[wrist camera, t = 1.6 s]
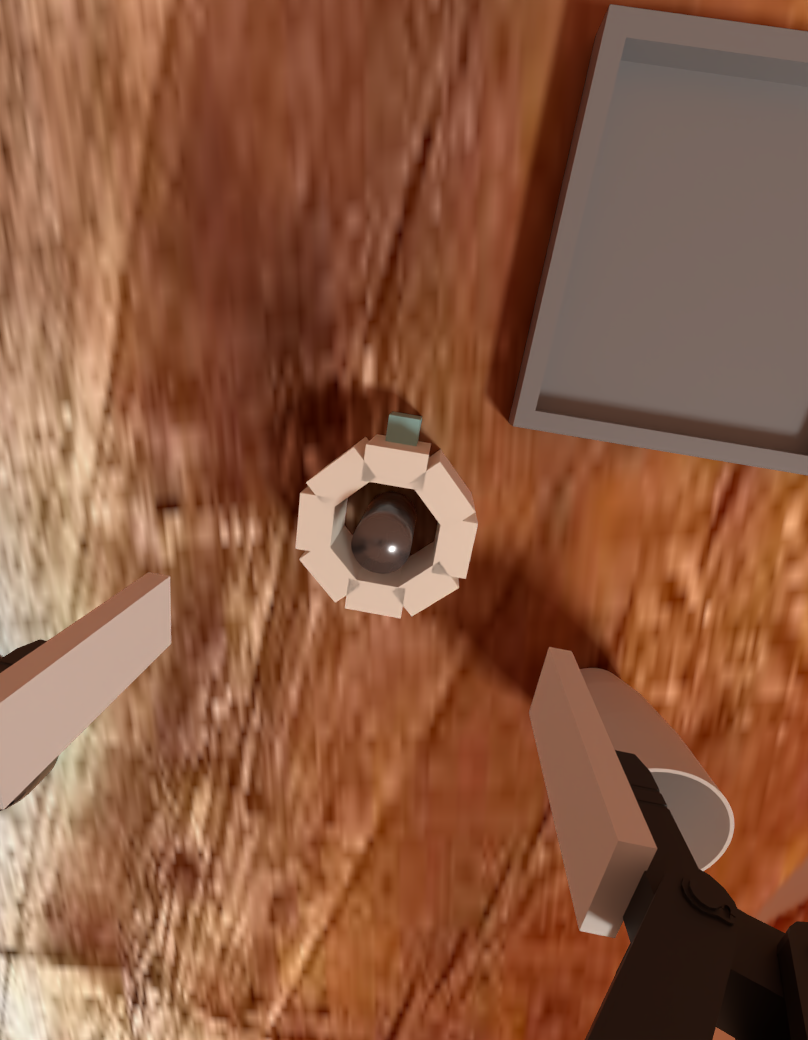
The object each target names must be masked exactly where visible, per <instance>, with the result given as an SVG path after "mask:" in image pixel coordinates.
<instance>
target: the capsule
mask: <svg viewBox="0 0 808 1040" xmlns="http://www.w3.org/2000/svg"><path fill="white" fill-rule="evenodd" d="M416 517H417V513H416V509H415V506H414V504H413V502H412V501H411V500H410V499H409V498H408V497H407V496H405V495H404V494H402V493H399V492H395V491H388V492H383V493H381V494H379V495H377V496H376V497H375V498H374V499H373V500H372V501H371V503H370V505H369V506H368V508H367V510H366V512H365V514H364V516H363V517H362V519H361V521H360V523H359V525H358V526H357V528H356V530H355V532H354V534H353V536H352V541H351V548H352V552H353V555H354V557H355V559H356V560H357V562H358V563H359V564H360V565H361V566H362V567H364V568H365V569H367V570H369V571H371V572H374V573H380V574H385V573H390V572H393V571H396V570H398V569H399V568H401V567H402V566H403V565H404V564H405V562H406V561H407V559H408V557H409V555H410V550H411V545H412V540H413V534H414V529H415V524H416Z"/></svg>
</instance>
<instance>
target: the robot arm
mask: <svg viewBox="0 0 808 1040" xmlns="http://www.w3.org/2000/svg"><path fill="white" fill-rule="evenodd" d="M170 644H171V603H170V576H166V575H161V574H156V573H150V572H148V573H147V574H145V575H144V576H142V577H141V578H140V579H138V580H137V581H135V582H134V583H132V584H131V585H129V586H128V587H126V588H125V589H123V590H122V591H120V592H119V593H117V594H116V595H114V596H113V597H112V598H110V599H109V600H107V601H106V602H104V603H103V604H101V605H100V606H98V607H97V608H95V609H94V610H92V611H91V612H89V613H88V614H87V615H85V616H84V617H82V618H81V619H79V620H78V621H76V622H75V623H73V624H72V625H70V626H69V627H67V628H66V629H64V630H63V631H62V632H60V633H59V634H57V635H56V636H54V637H53V638H51V639H50V640H48V641H44V640H37V641H35V642H32V643H30V644H27V645H25V646H22V647H20V648H17V649H15V650H14V651H12V652H11V653H9V654H8V655H6V656H5V657H3V658H2V659H0V811H1V810H4V809H6V808H8V807H10V806H12V805H14V804H15V803H17V802H18V801H20V800H21V799H23V798H24V797H25V796H26V795H28V794H29V793H30V792H31V791H32V790H33V789H34V788H35V787H36V786H37V785H38V784H39V783H40V782H41V781H42V780H43V779H44V777H45V776H46V775H47V774H48V773H49V772H50V771H51V770H52V769H53V767H54V765H55V763H56V761H57V759H58V755H59V754H60V753H61V752H62V751H63V750H64V749H65V748H66V747H67V746H68V745H69V744H70V743H71V742H72V741H73V740H74V739H75V738H76V737H78V736H79V735H80V734H81V733H82V732H83V731H84V730H85V729H86V728H87V727H88V726H89V725H90V724H91V723H92V722H93V721H94V720H95V719H96V718H97V717H98V716H99V715H100V714H101V713H102V712H103V711H104V710H105V709H106V708H107V707H108V706H109V705H110V704H111V703H112V702H113V701H114V700H115V699H116V698H117V697H118V696H119V695H120V694H121V693H122V692H123V691H124V690H125V689H126V688H127V687H128V686H129V685H130V684H131V683H132V682H133V681H134V680H135V679H136V678H137V677H138V676H139V675H140V674H141V673H142V672H143V671H144V670H145V669H146V668H147V667H148V666H149V665H150V664H151V663H152V662H153V661H154V660H155V659H156V658H157V657H158V656H159V655H160V654H161V653H162V652H163V651H164V650H165V649H166V648H167V647H168V646H169V645H170ZM529 715H530V719H531V724H532V728H533V732H534V737H535V741H536V745H537V750H538V754H539V758H540V762H541V767H542V771H543V775H544V780H545V784H546V788H547V793H548V797H549V801H550V806H551V810H552V814H553V819H554V823H555V827H556V832H557V836H558V840H559V844H560V849H561V853H562V857H563V862H564V866H565V870H566V875H567V879H568V883H569V888H570V892H571V896H572V901H573V905H574V909H575V914H576V918H577V922H578V926H579V931H584V932H588V933H593V934H598V935H603V936H607V937H612V938H615V937H616V935H617V933H618V930H619V928H620V926H621V924H622V922H623V920H624V923H625V926H626V929H627V932H628V936H629V939H630V942H631V943H630V945H629V947H628V949H627V951H626V953H625V955H624V957H623V959H622V961H621V963H620V966H619V968H618V970H617V972H616V975H615V977H614V979H613V981H612V983H611V985H610V988H609V990H608V992H607V994H606V996H605V998H604V1000H603V1002H602V1004H601V1007H600V1009H599V1011H598V1013H597V1015H596V1017H595V1019H594V1021H593V1024H592V1026H591V1028H590V1030H589V1032H588V1034H587V1036H586V1038H585V1040H712V1039H713V1035H714V1031H715V1027H717V1028H719V1029H721V1030H722V1031H724V1032H726V1033H727V1034H729V1035H731V1036H732V1037H734V1038H735V1040H808V922H795V923H794V924H793V925H791V926H790V927H789V929H788V930H787V932H786V933H783V932H781V931H779V930H777V929H775V928H773V927H771V926H769V925H767V924H765V923H763V922H761V921H759V920H757V919H755V918H753V917H751V916H749V915H747V914H746V913H744V912H742V911H741V910H739V909H737V907H736V904H735V902H734V901H733V899H732V898H731V897H730V895H729V894H728V893H727V891H726V890H725V889H724V888H723V887H722V886H721V885H720V884H719V883H718V882H717V881H716V880H715V879H713V878H712V877H711V876H710V875H708V874H707V873H705V872H703V871H702V870H700V869H699V868H698V866H697V864H696V862H695V860H694V858H693V856H692V854H691V852H690V850H689V848H688V846H687V844H686V842H685V840H684V838H683V836H682V834H681V832H680V830H679V828H678V826H677V824H676V822H675V820H674V818H673V816H672V814H671V812H670V810H669V809H667V804H666V802H665V800H664V798H663V796H662V794H661V793H660V792H659V791H660V790H659V788H658V786H657V784H656V782H655V780H654V778H653V776H652V774H651V772H650V770H649V769H648V768H647V767H646V766H645V765H644V764H643V763H642V762H641V760H640V759H639V758H638V757H637V756H636V755H635V754H632V753H627V752H622V751H617V750H614V747H613V745H612V743H611V740H610V738H609V736H608V733H607V731H606V729H605V727H604V724H603V722H602V720H601V717H600V715H599V713H598V710H597V708H596V706H595V703H594V701H593V699H592V697H591V694H590V692H589V690H588V687H587V685H586V683H585V680H584V678H583V676H582V674H581V671H580V669H579V667H578V664H577V662H576V660H575V657H574V655H573V653H572V651H569V650H563V649H558V648H553V647H549V648H548V651H547V655H546V658H545V661H544V665H543V668H542V671H541V675H540V678H539V681H538V684H537V688H536V691H535V694H534V698H533V701H532V704H531V707H530V711H529Z"/></svg>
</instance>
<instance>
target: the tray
mask: <svg viewBox="0 0 808 1040" xmlns="http://www.w3.org/2000/svg"><path fill="white" fill-rule="evenodd" d="M508 422H509V423H510V424H511V425H512V426H515V427H521V428H527V429H533V430H539V431H545V432H551V433H557V434H563V435H569V436H575V437H581V438H587V439H593V440H599V441H605V442H611V443H617V444H623V445H629V446H635V447H641V448H647V449H653V450H659V451H665V452H671V453H677V454H683V455H689V456H695V457H701V458H707V459H713V460H719V461H725V462H731V463H737V464H743V465H749V466H755V467H761V468H767V469H773V470H779V471H785V472H791V473H797V474H803V475H808V31H800V30H793V29H786V28H779V27H771V26H764V25H757V24H750V23H742V22H735V21H728V20H721V19H713V18H706V17H699V16H692V15H684V14H677V13H670V12H663V11H655V10H648V9H641V8H634V7H626V6H619V5H612V4H610V5H609V7H608V10H607V12H606V14H605V16H604V18H603V21H602V23H601V25H600V27H599V30H598V32H597V34H596V36H595V40H594V45H593V49H592V54H591V58H590V62H589V67H588V71H587V76H586V80H585V85H584V89H583V93H582V98H581V102H580V107H579V111H578V116H577V120H576V124H575V129H574V133H573V138H572V142H571V146H570V151H569V155H568V160H567V164H566V169H565V173H564V177H563V182H562V186H561V191H560V195H559V200H558V204H557V208H556V213H555V217H554V222H553V226H552V231H551V235H550V239H549V244H548V248H547V253H546V257H545V262H544V266H543V270H542V275H541V279H540V284H539V288H538V293H537V297H536V301H535V306H534V310H533V315H532V319H531V324H530V328H529V332H528V337H527V341H526V346H525V350H524V355H523V359H522V363H521V368H520V372H519V377H518V381H517V386H516V390H515V394H514V399H513V403H512V408H511V412H510V417H509V421H508Z"/></svg>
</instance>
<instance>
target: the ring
mask: <svg viewBox="0 0 808 1040" xmlns="http://www.w3.org/2000/svg"><path fill="white" fill-rule="evenodd" d="M421 421H422V416H417V415H411V414H405V413H399V412H392V413H390V414H389V419H388V426H387V433H386V436H385V435H379V434H376V435H375V436H374V437H373V438H372V439H371V440H370V441H369V440H368V439H367V437H365V438H363V439H362V440H361V441H359V442H358V443H357V444H355V445H354V446H353V447H351V448H350V449H349V450H347V451H346V452H344V453H343V454H342V455H340V456H339V457H338V458H336V459H335V460H334V461H332V462H331V463H330V464H328V465H327V466H326V467H324V468H323V469H322V470H321V471H319V472H318V473H317V474H316V475H315V476H313V477H312V478H311V479H310V480H308V481H307V482H306V484H307V485H308V487H306V488H305V489H304V490H303V491H302V492H301V493H300V502H299V514H298V526H297V537H296V549H300V550H306V551H305V552H304V554H303V555H302V556H301V557H300V559H299V560H300V561H301V562H302V563H303V565H304V566H305V567H306V568H307V569H308V571H309V572H310V573H311V574H312V575H313V577H314V578H315V579H316V580H317V581H318V583H319V584H320V585H321V586H322V587H323V589H324V590H325V591H326V592H327V593H328V595H329V596H330V597H331V598H332V599H333V601H334V602H337V601H338V600H340V599H341V598H343V597H345V596H346V595H347V596H346V604H345V608H346V609H352V610H357V611H363V612H368V613H374V614H379V615H385V616H390V617H396V618H401V613H402V607H403V606H404V607H405V609H406V610H407V611H408V612H409V614H410V615H411V616H413V615H415V614H417V613H418V612H420V611H422V610H423V609H425V608H427V607H428V606H430V605H432V604H433V603H435V602H437V601H438V600H440V599H441V598H443V597H445V596H446V595H448V594H450V593H451V592H453V591H455V590H456V589H458V588H459V578H464V579H466V576H467V571H468V567H469V562H470V558H471V553H472V549H473V544H474V539H475V535H476V530H477V526H478V522H477V517H476V512H475V507H474V503H473V498H472V493H471V492H470V490H469V489H468V488H467V486H466V485H465V483H464V482H463V480H462V479H461V478H460V476H459V475H458V473H457V472H456V470H455V469H454V468H453V466H452V465H451V463H450V462H449V460H448V459H447V458H446V456H445V455H444V453H443V452H442V451H441V449H440V450H439V451H437V452H436V453H434V454H433V455H432V456H430V457H429V453H430V447H431V443H427V442H421V441H418V440H419V434H420V427H421ZM369 482H374V483H379V484H385V485H391V486H397V487H403V488H408V489H414V490H415V491H416V492H417V494H418V495H419V496H420V498H421V499H422V501H423V502H424V503H425V505H426V506H427V507H428V509H429V510H430V511H431V513H432V514H433V516H434V517H435V518H436V520H437V521H438V524H437V529H436V534H435V540H434V541H433V542H432V543H430V544H428V545H427V546H425V547H424V548H422V549H421V550H419V551H418V552H416V553H414V554H413V555H411V556H410V557H408V559H407V561H406V562H405V564H404V565H403V566H402V567H401V568H399V569H398V570H396V571H393V572H390V573H385V574H380V573H374V572H371V571H369V570H367V569H365V568H364V567H362V566H361V565H360V564H359V563H358V562H357V560H356V559H355V557H354V555H353V552H352V548H351V541H352V536H353V535H352V534H351V533H350V531H349V530H348V529H347V528H346V526H345V516H346V508H347V500H348V497H349V496H350V495H352V494H353V493H355V492H356V491H357V490H359V489H360V488H362V487H363V486H364V485H366V484H367V483H369Z"/></svg>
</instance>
